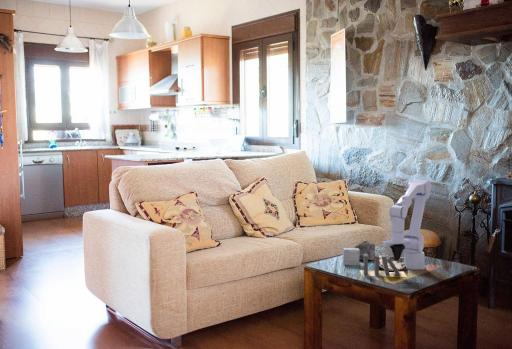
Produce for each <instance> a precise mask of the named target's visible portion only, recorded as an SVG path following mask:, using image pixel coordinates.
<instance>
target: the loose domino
mask: <svg viewBox="0 0 512 349" xmlns="http://www.w3.org/2000/svg"><path fill="white" fill-rule="evenodd" d="M386 259H387V264H389V266H390V268H391V269H392V271H394V272H395V274H396V275H397V276H399V275H400V273H399V270H398V268H397V267H396V265H395V264H394V262H393V261H392V259H391V257H389V256H387V257H386Z"/></svg>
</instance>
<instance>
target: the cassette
mask: <svg viewBox="0 0 512 349" xmlns="http://www.w3.org/2000/svg"><path fill="white" fill-rule="evenodd" d="M384 254H385V255H388V256H394V255H393V252H392V250H391V248H390V246H384ZM401 257H404V251H403V252H402V254H401Z"/></svg>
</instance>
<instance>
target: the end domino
mask: <svg viewBox="0 0 512 349" xmlns="http://www.w3.org/2000/svg"><path fill="white" fill-rule="evenodd" d="M362 262H363V263H362V265H363V267H362V268H363V273H364V275H368V270H369V259H368V255H367V254H364V258H363V260H362Z"/></svg>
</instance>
